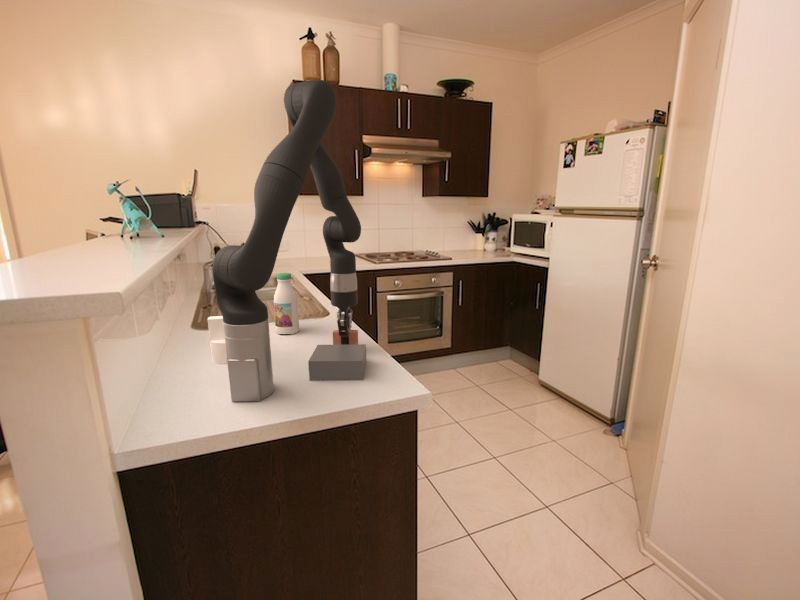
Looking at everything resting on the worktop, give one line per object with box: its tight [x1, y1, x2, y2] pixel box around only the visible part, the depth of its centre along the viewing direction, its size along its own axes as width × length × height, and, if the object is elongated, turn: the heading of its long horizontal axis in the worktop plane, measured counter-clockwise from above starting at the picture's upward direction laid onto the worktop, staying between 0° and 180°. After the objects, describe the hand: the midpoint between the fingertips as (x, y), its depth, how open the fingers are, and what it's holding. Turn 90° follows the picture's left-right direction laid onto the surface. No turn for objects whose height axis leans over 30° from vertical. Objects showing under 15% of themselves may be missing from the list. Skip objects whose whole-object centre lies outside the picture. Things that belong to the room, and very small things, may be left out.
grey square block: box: [307, 343, 367, 381], centre depth 105 cm, size 13×13×5 cm
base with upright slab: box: [207, 315, 228, 365], centre depth 112 cm, size 9×9×12 cm
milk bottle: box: [273, 272, 300, 335], centre depth 135 cm, size 8×8×20 cm
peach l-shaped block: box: [332, 329, 359, 345], centre depth 109 cm, size 20×8×6 cm, turn 1°
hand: (345, 346), depth 118 cm, fingers closed on peach l-shaped block, 2 cm apart
